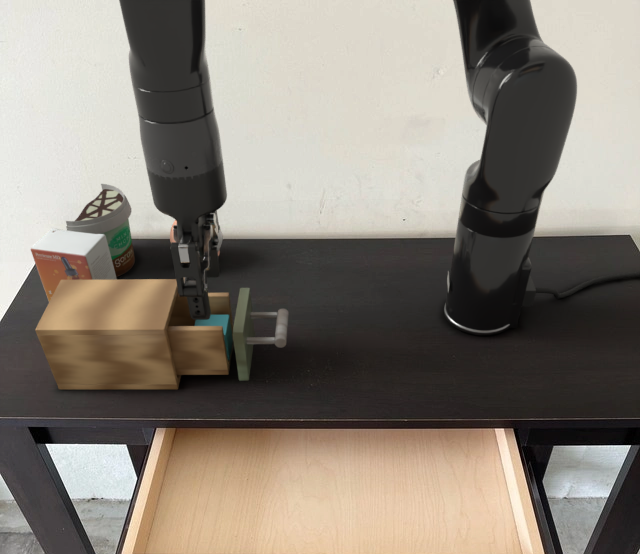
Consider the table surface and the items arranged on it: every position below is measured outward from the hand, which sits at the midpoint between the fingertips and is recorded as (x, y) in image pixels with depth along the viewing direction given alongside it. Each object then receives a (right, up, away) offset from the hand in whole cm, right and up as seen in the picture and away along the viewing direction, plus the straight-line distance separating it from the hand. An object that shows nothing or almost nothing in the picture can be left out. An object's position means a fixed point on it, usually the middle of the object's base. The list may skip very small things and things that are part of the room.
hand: (206, 295), depth 76 cm
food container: (-17, +9, +24) cm, 31 cm away
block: (0, -6, +6) cm, 8 cm away
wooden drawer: (0, -6, +7) cm, 9 cm away
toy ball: (-5, +10, +24) cm, 27 cm away
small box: (-19, +1, +16) cm, 25 cm away
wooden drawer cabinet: (-11, -7, +7) cm, 15 cm away
